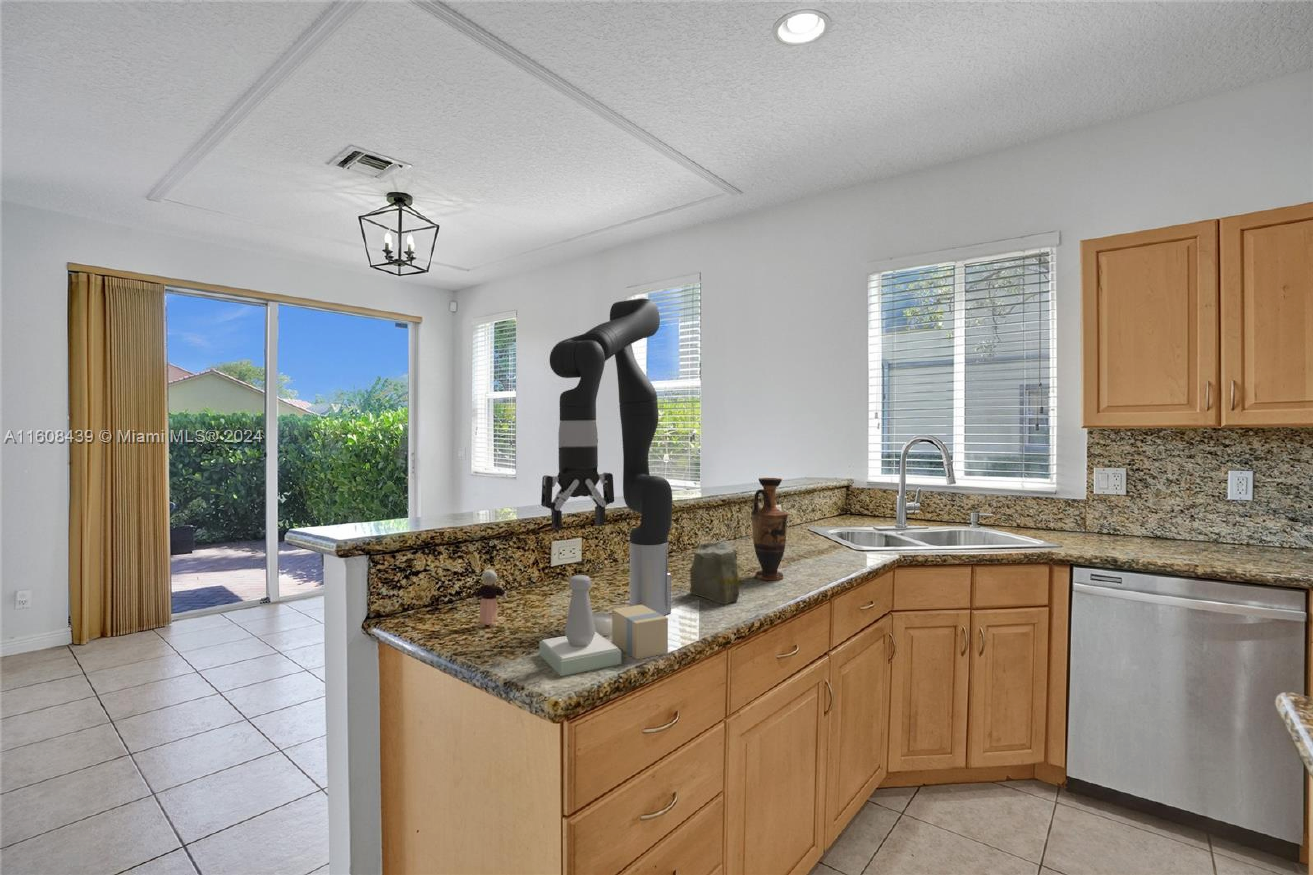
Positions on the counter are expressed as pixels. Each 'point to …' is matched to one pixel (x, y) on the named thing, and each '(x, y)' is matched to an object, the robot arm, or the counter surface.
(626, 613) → the kraft carton
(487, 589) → the grandmother figurine
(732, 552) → the stone block
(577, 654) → the podium
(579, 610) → the salt shaker
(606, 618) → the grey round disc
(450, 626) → the counter surface
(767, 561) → the vase
